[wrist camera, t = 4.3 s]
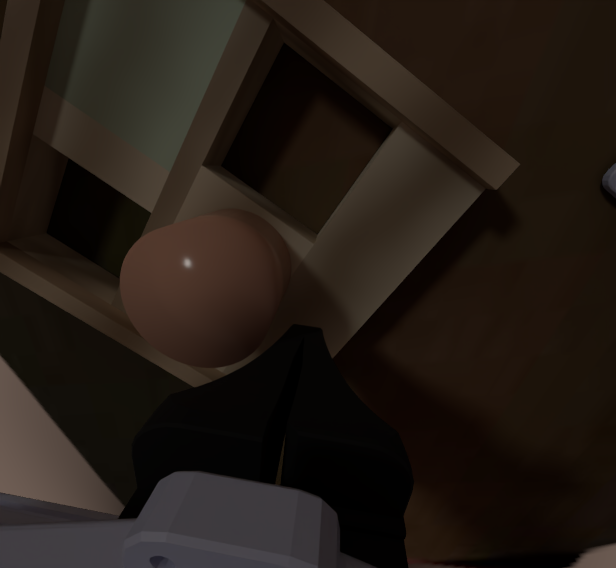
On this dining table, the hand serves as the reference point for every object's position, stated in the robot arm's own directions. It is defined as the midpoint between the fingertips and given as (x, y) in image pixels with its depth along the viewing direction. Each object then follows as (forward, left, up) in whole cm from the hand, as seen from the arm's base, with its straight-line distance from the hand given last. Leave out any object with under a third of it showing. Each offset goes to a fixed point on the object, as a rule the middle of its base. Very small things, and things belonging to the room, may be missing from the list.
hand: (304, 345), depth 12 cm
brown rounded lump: (+4, -1, -1) cm, 5 cm away
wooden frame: (+7, -2, -3) cm, 8 cm away
